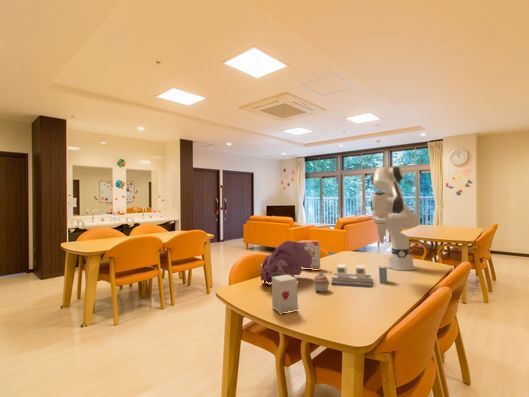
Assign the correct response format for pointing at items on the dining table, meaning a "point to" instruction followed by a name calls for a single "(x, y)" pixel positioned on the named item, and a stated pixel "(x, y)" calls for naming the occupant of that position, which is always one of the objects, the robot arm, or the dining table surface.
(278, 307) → the supplement box
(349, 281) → the rail plate
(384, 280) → the block
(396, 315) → the dining table surface
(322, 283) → the cupcake
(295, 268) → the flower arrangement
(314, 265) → the cracker box
